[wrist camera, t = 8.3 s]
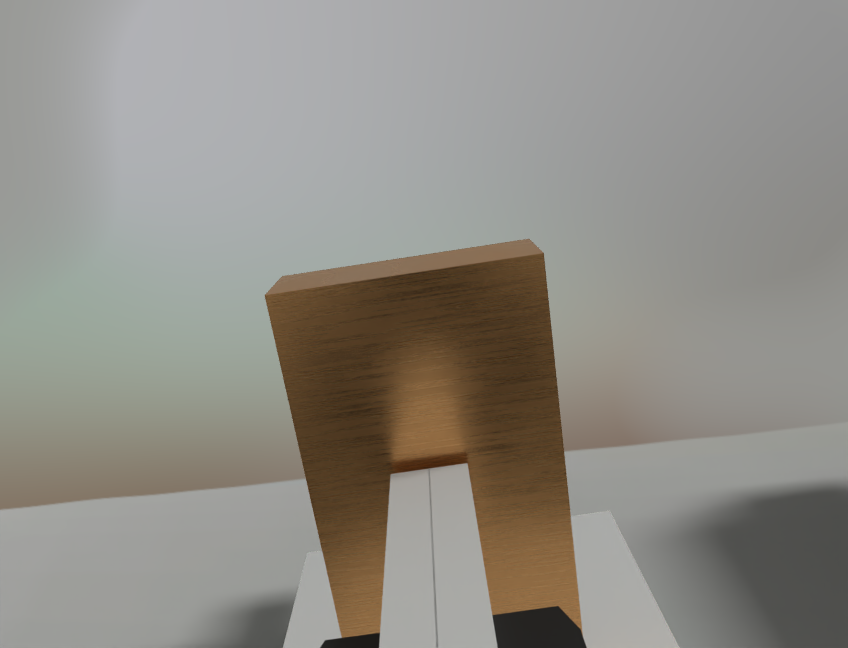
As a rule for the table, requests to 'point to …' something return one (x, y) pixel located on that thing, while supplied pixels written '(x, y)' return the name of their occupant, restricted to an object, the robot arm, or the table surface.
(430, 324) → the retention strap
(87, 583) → the table surface
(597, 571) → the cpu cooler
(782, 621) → the table surface
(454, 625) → the robot arm
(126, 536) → the table surface
